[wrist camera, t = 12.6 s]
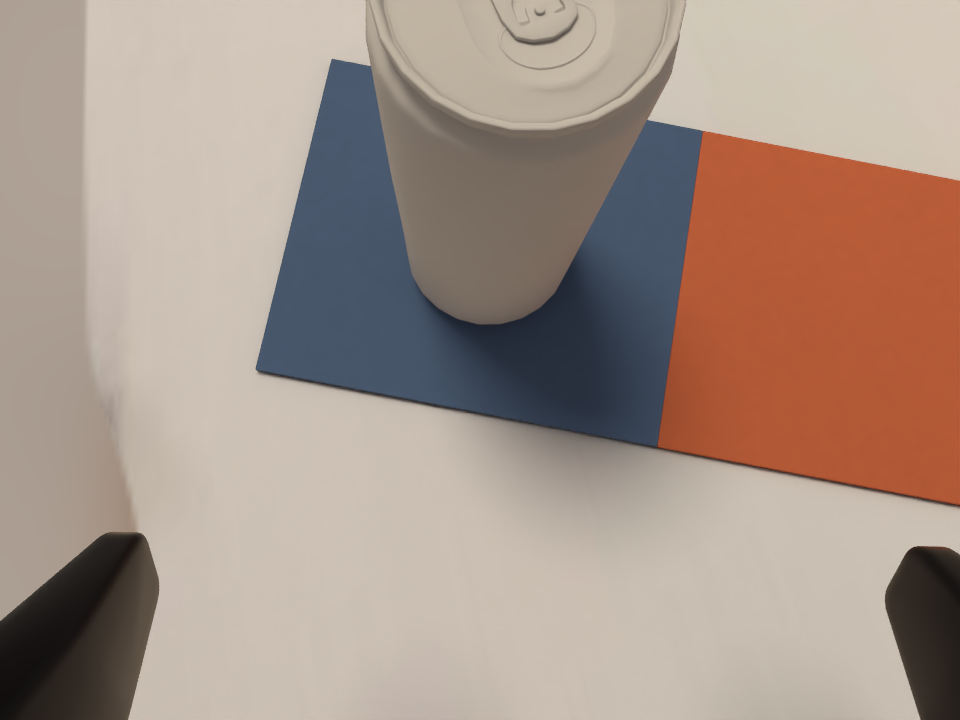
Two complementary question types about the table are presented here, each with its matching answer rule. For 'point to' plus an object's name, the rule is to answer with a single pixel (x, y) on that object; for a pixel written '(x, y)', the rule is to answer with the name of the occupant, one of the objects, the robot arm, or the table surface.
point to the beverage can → (510, 133)
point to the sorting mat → (660, 306)
